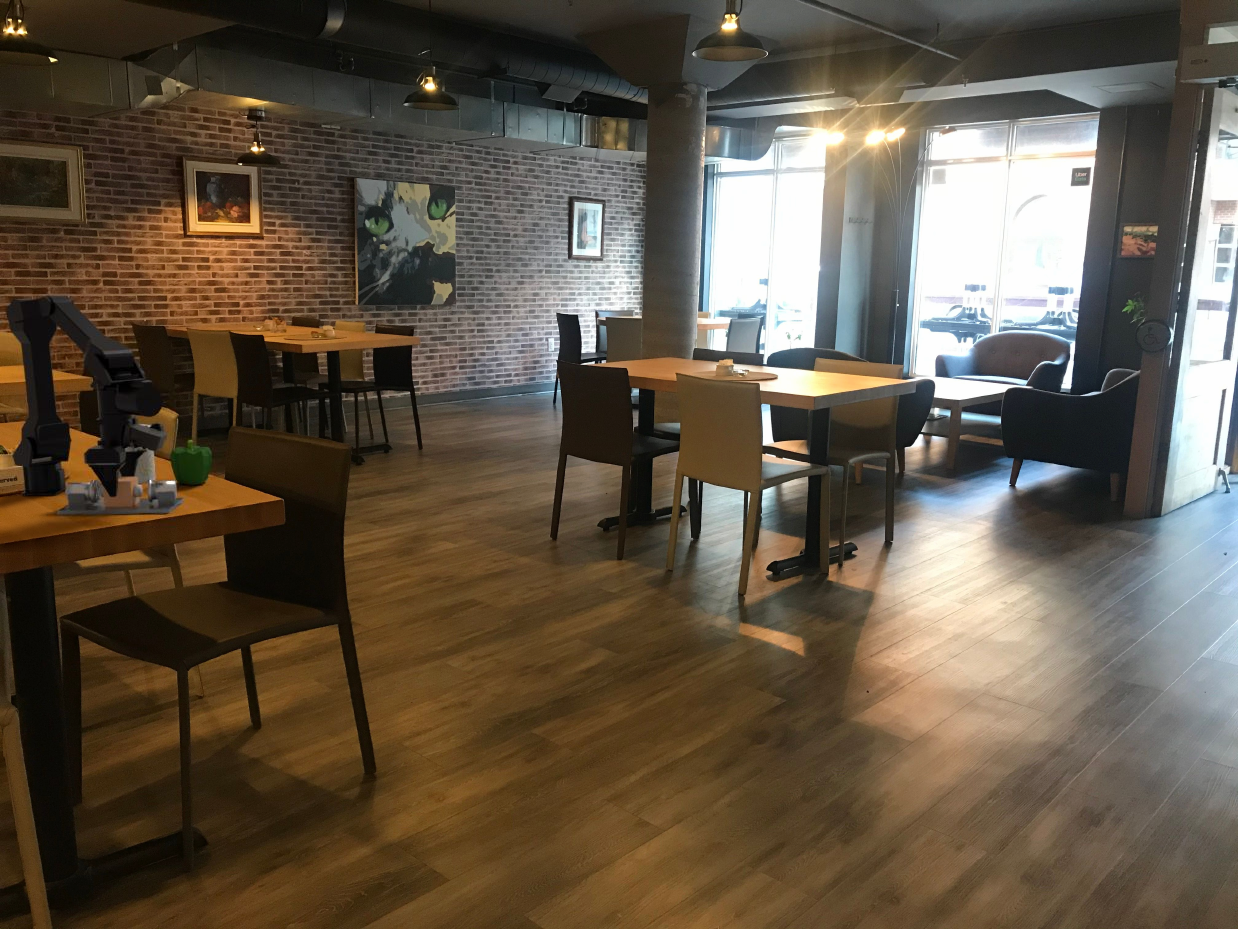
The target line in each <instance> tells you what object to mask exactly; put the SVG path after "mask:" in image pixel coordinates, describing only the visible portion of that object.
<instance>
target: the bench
mask: <svg viewBox="0 0 1238 929" xmlns="http://www.w3.org/2000/svg"><path fill="white" fill-rule="evenodd" d="M101 486H102V484H101V482H100V480H99V479H92V480H91V481H86V482H85V481H84V482H83V481H79V482H75V481H73V482H67V483H66V489H65V498H66V500H67V501H68V502H67V504H66V505H65V506H63V507H61V508H60V509H58V510H56V511H57V515H58V516H61V515H62V516H64V515H66V516H67V515H69V516H74V515H76V514H77V515H78V514H83V515H136V514H137V515H138V514H139V513H155V514H171V512H173V511H174V510H176V508H178V507H179V506H180V505H182V503H183V504H184V500H185V499H184V497H177V498H176V503H175V505H161V506H158V500H153V502H149V500H148V497H145V498H143V497H140V501H139V502H138V503H137V504H135V505H134V506H132V507H105V504H104V498H102V497H101V495H100V488H101ZM77 515H76V516H77ZM139 515H140V514H139Z"/></svg>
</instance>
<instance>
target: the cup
mask: <svg viewBox="0 0 1238 929" xmlns="http://www.w3.org/2000/svg"><path fill="white" fill-rule="evenodd" d="M138 424H139V425H143V426H146V425H147V426H148V427H150V426H151V425H152V424H143V423H142V424H141V423H138ZM140 449H142V447H140ZM146 450H147V452H146V453H144V454H143V455H142V456H141V457H140V458H139V460H138V463H137V468H136V472H135V477H138V483H140V484H146V483H145V482H147V483H148V479H152V481H153V480H154V481H156V470H155V469H156V468H155V467H156V466H155V451H151V450H148V449H146ZM119 477H122V476H121V474H120V471H119Z"/></svg>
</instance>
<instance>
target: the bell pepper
mask: <svg viewBox="0 0 1238 929" xmlns="http://www.w3.org/2000/svg"><path fill="white" fill-rule="evenodd" d="M193 444H194V441H193V440H192V439H188V440H187V447H184V446H177V447H176V448H174V449H172V450H171V452H170V456H169V457H170V458H169V459H170V466H171V470H172V473H173V475H174V478H175V480H176V483H178V484H180V485H188V486H196V485H202V484H204V483H205V482H207V480H208V478H209V477H210V473H211V472H210V471H211V468H212V463H213V462H212V451H211V449H210V447H208V446H199V445H193ZM208 475H209V476H208Z"/></svg>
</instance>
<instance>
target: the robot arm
mask: <svg viewBox="0 0 1238 929" xmlns="http://www.w3.org/2000/svg"><path fill="white" fill-rule="evenodd" d="M5 316H6V318H7V321H8V325H9V330H10V332H11V333H12V335H13V336H14V337H15V338H16V340H17V341H18V342H19V343H20V347H21V354H22V356H21V357H22V363H23V372H24V373H23V374H24V381H25V389H26V392H25V393H26V400H27V409H28V416H27V418H26V420H25V421H24V423H23V425H22V427H21V433H20V434H21V440H20V442H19V444H18V445H17V447H16V449H15V450H14V452H13V453H12V460H13V462H14V465H15V466H17V467H22V472H23V473H22V474H23V483H24V491H23V492H21V495H22V496H55V495H58V494H60V493H61V492H63V491H66V486H67V483H66V475H65V474H66V472H65V468H62V467H63V466H62V463H64V462H68V461H69V458H70V451H71V444H72V442H73V441H72V437H71V430H70V424H69V423H68V421H65V422H64V421H63V419H62V417H61V416H59V414H58V410H57V402H56V392H55V384H54V382H55V381H54V372H53V365H52V354H51V342H52V339H53V338H54V336H55V334H56V332H58V331H57V330H58V328H60V329H61V331H62V332H64V334H65V335H66V336H67V337H68V338H69V340H71V341H72V342H73V344H75V345H76V346H77V347H78V348H79V349H80V350H81V352H82V354H83V363H84V364H85V366H86V368H88V370H89V371H90V373H91V375H93V377H94V378H95V379H94V381H92V382H91V383H90V385H89V387H90V388H91V389H96V393H97V405H98V406H97V407H98V418H96V419H95V425H96V426H99V432H100V439H99V440H97V442H96V443H97V445H93V446H92V447H90V448H88V449H87V450H86V451H85V452H83V459H84V464H85V465H88V468H91V470H92V472H93V473H94V475H95V476H96V477H97V478H98V479H97V480H99V482H100V484H101V486H102V485H103V486H104V488H105V490H106V491H107V493H108V494H109V496H110V497H116V496H117V489H118V477H119V471H120V474H121V476H122V477H135V472H136V468H137V463H138V460H139V458H140V457H141V456H142V455H143V454H144V453H146V452H147V450H146V449H148V450H151V451H154V452H158V451H159V450H161V449H162V448H163V446H164V443H165V440H167V438H168V437H167V431H165V428H164V424H163V423H159V422H157V421H155V422H154V423H152V424H150V425H151V426H150V427H148V426H147V425H148V424H145V425H146V426H143V425H139V424H140V423H139V419H138V417H146V418H153V417H155V416H157V415H159V413H160V412H161V410H162V408H163V405H164V399H163V396H162V394H161V392H160V391H159V390H158V389H157V388H155V387H153V381H152V380H150V379H149V380H148V379H147V377H146V373H145V372H144V371H143V369H142V368H141V366H140V364H139V362H138V361H137V359H136V357H135V355H134V353H133V351H132V350H131V349H130V348H129V347H127V346H126V345H125V344H124V343H122V342H121V341H119V340H116V339H113V338H110V337H107V336H106V334H103V333H102V331H100V329H98V328H97V327H96V325H95V324H94V323H93V322H92V321H91V320H90V319H89V318H88V317H87V316H86V315H85V313H83V312H82V311H81V310H80V309H79V308H78V307H77V306H76V305H75V302H74V300H73V299H72V297H69V296H66V295H45V296H43V297H40V298H15V299H13V300H11V301H10V303H9V305H7V307H6V310H5ZM137 416H138V417H137ZM140 447H142V449H140Z"/></svg>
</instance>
